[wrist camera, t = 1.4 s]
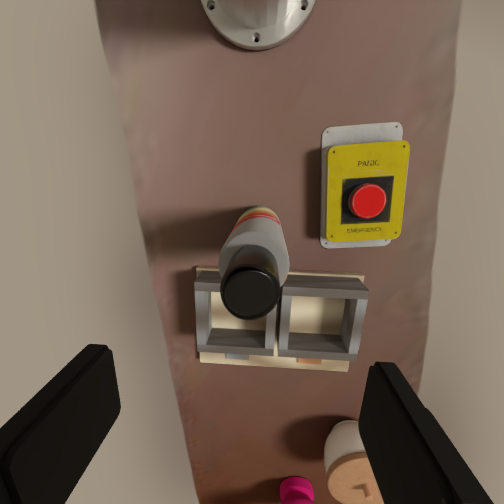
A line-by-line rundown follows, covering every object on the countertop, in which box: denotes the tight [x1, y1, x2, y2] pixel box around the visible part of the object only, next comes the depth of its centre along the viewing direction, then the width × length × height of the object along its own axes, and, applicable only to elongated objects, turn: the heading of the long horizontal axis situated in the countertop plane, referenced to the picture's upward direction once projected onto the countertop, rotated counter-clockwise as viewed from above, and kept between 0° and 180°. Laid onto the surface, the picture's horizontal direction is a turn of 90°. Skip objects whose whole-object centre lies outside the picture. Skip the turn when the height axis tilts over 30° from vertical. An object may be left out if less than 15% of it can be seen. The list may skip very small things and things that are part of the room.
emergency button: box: [320, 122, 410, 248], centre depth 31 cm, size 9×4×15 cm
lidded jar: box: [324, 420, 384, 504], centre depth 40 cm, size 11×11×9 cm
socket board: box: [194, 265, 369, 372], centre depth 36 cm, size 16×23×5 cm
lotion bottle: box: [218, 206, 289, 320], centre depth 25 cm, size 6×6×20 cm
